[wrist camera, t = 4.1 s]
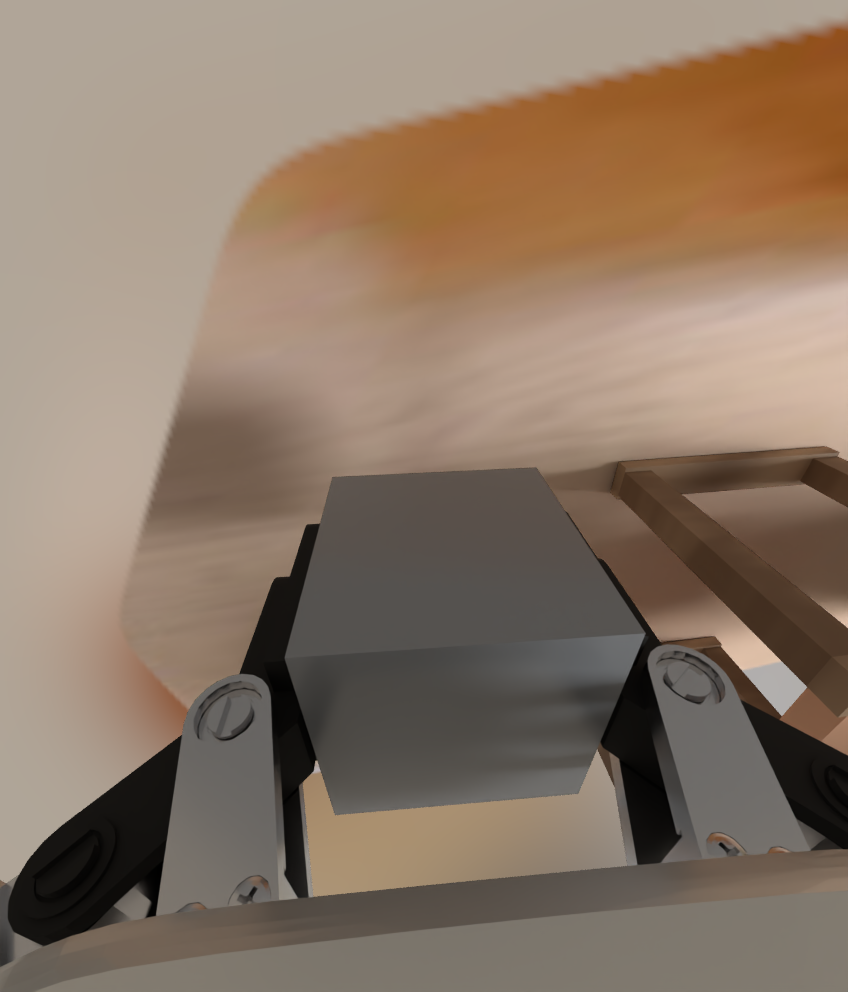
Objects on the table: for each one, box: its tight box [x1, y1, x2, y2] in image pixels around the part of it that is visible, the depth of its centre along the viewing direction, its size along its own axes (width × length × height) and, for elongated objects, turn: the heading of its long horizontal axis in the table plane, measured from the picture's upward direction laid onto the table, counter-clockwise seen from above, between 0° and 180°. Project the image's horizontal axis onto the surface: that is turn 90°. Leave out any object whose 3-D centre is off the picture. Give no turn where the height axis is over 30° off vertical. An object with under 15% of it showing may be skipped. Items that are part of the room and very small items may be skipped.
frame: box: [597, 447, 848, 787], centre depth 18 cm, size 10×15×10 cm
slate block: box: [285, 468, 646, 815], centre depth 9 cm, size 5×5×5 cm
